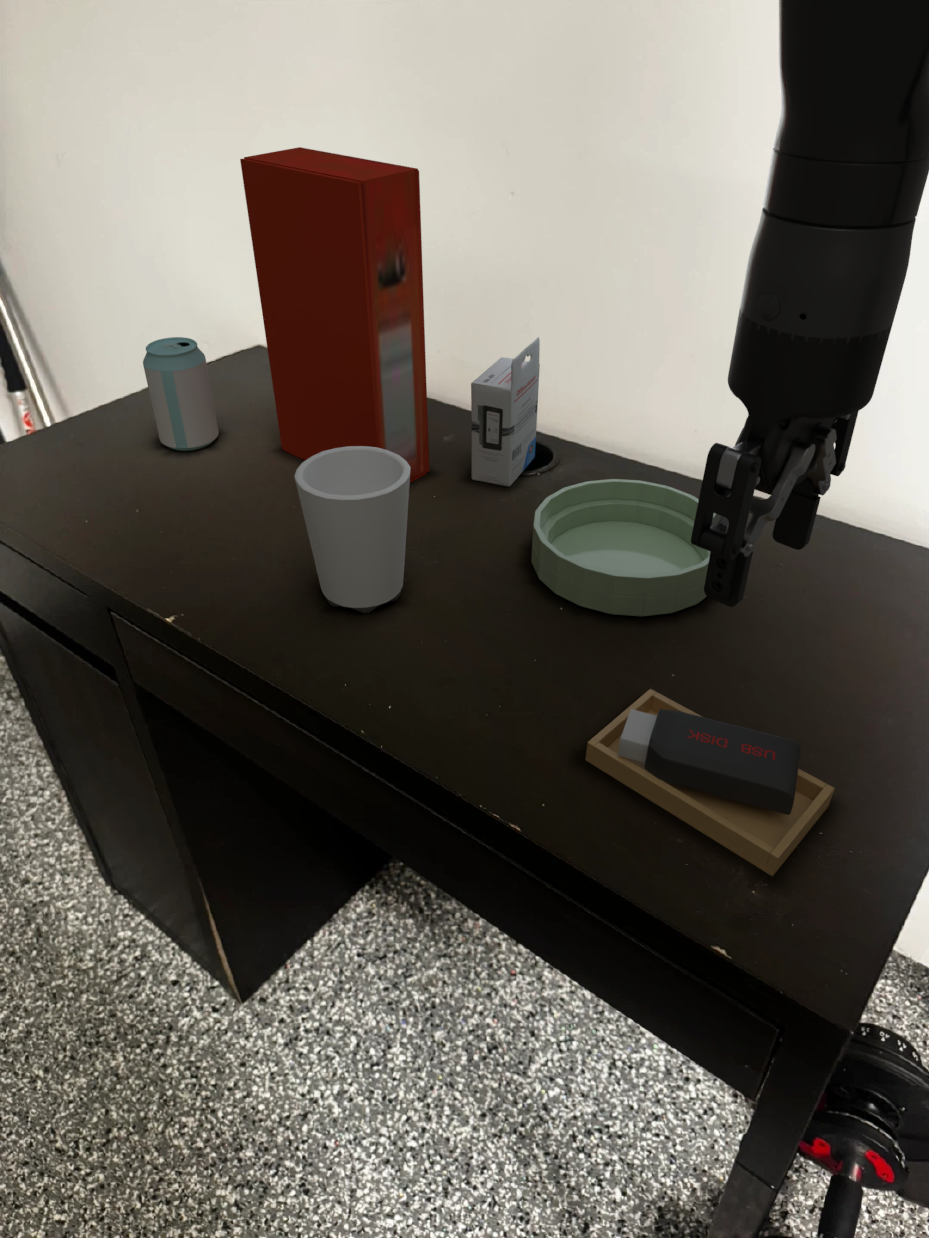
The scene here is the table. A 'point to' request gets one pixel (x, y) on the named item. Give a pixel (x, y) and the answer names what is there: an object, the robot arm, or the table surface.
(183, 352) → the can
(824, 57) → the robot arm
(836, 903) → the table surface
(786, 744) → the usb drive
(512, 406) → the ink box
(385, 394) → the file binder
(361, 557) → the cup
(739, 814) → the tray
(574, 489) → the green round dish
